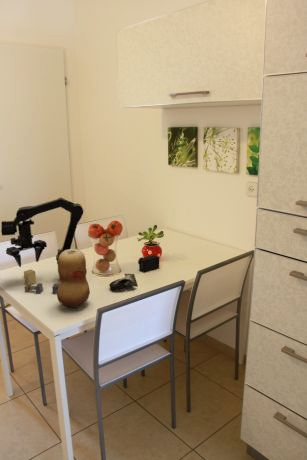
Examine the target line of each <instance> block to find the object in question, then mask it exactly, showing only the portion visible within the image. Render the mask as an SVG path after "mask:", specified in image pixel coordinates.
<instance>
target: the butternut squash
mask: <svg viewBox="0 0 307 460" xmlns="http://www.w3.org/2000/svg"><path fill="white" fill-rule="evenodd" d="M87 270H88V269H87V262H86V256H85V254H84V252H83V251H82V250H80V249H77V248H70V249H68V250H65V251H63V252H62V253H61V254H60V255H59V258H58V264H57V273H58V277H59V286H58V290H57V294H56V297H57V300H58V302H59V303H61V304H62V306H66V307H72V308H77V307H79V306H81V305H83V304H84V303H85V302H87V301H88V300H89V297H90V294H91V292H90V291H91V290H90V286H89V282H88V279H87V277H86V276H87V272H88V271H87Z"/></svg>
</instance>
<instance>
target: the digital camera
mask: <svg viewBox="0 0 307 460" xmlns="http://www.w3.org/2000/svg"><path fill="white" fill-rule="evenodd" d="M137 262H138V268H139V269H138V270H139V272H141V273H143V274H146V273H149V272H154V271H155V270H159V269H160V256H158V255H155V254H153V255H149V256H142V257H140V258H138V261H137Z"/></svg>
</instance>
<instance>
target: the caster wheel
mask: <svg viewBox="0 0 307 460" xmlns="http://www.w3.org/2000/svg"><path fill="white" fill-rule="evenodd" d="M108 285H109V289H110V291H112V292H118V291H121V292H128V291H130V290H131V289H132V288H135V287H139V285H138V281H137V279H136V276H135V273H124V277H122V278H119V279H115V280H114V281H111V282H110V283H109V284H108Z"/></svg>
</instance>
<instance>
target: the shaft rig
mask: <svg viewBox="0 0 307 460" xmlns="http://www.w3.org/2000/svg"><path fill="white" fill-rule="evenodd" d="M59 283H60V282H59ZM59 283H58V282H54V283H53V285H52V287H51V288H52V294H53V295H57V290H58V286H59ZM23 288H24V293H27V294H29V293H30V292H32V291H35V294H36V295H41V293H42V292H43V291H44V288H43V282H38V283H36V284H35V285H30V284H28V285H26V284H25V285H24V287H23Z"/></svg>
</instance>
